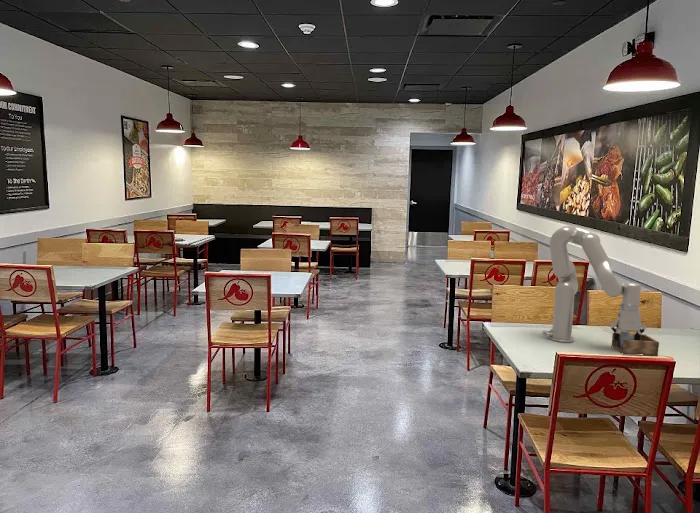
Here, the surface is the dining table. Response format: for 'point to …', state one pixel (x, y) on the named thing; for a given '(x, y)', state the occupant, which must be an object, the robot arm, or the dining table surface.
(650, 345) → the wooden box
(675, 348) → the dining table surface
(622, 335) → the blue-gray flat block
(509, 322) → the dining table surface
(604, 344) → the dining table surface
